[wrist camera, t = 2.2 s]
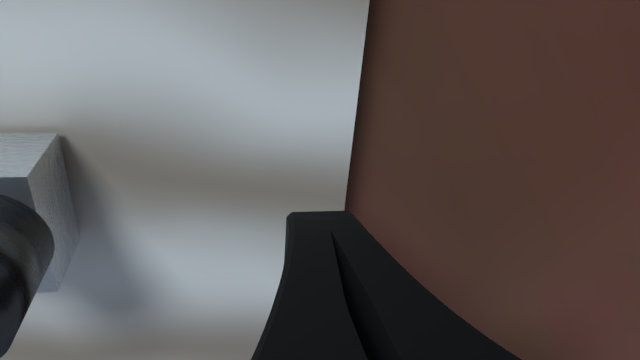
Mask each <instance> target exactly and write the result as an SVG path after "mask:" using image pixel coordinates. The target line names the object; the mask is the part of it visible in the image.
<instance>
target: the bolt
mask: <svg viewBox="0 0 640 360" xmlns="http://www.w3.org/2000/svg"><path fill="white" fill-rule="evenodd" d="M80 238H81V236H80V232H79V227H78V222H77V218H76V213H75V209H74V204H73V200H72V195H71V190H70V186H69V181H68V177H67V172H66V168H65V163H64V158H63V154H62V149H61V145H60V140H59V136H58V133H1V132H0V358H1V357H3V356H4V354H5V353H6V352H7V351H8V350H9V348H10V347H11V344H12V342H13V340H14V338H15V336H16V334H17V332H18V330H19V328H20V326H21V324H22V321H23V319H24V317H25V315H26V313H27V311H28V309H29V307H30V305H31V303H32V300H33V298H34V296H35V294H36V293H47V292H58V290H59V288H60V285H61V283H62V281H63V278H64V276H65V274H66V271H67V269H68V267H69V264H70V262H71V259H72V257H73V255H74V252H75V250H76V248H77V245H78V243H79V241H80Z"/></svg>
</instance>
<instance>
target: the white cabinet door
mask: <svg viewBox="0 0 640 360" xmlns="http://www.w3.org/2000/svg"><path fill="white" fill-rule="evenodd" d="M369 1H370V0H0V132H1V133H58V136H59V140H60V145H61V149H62V154H63V158H64V163H65V168H66V172H67V177H68V181H69V186H70V190H71V195H72V200H73V204H74V209H75V213H76V218H77V222H78V227H79V232H80V236H81V238H80V241H79V243H78V245H77V248H76V250H75V252H74V255H73V257H72V259H71V262H70V264H69V267H68V269H67V271H66V274H65V276H64V278H63V281H62V283H61V285H60V288H59V290H58V292H47V293H36V294H35V296H34V298H33V300H32V303H31V305H30V307H29V309H28V311H27V313H26V315H25V317H24V319H23V321H22V324H21V326H20V328H19V330H18V332H17V334H16V336H15V338H14V340H13V342H12V344H11V347H10V348H9V350H8V351H7V352H6V353H5V354H4V356H3V357H1V358H0V360H251V358H252V356H253V354H254V352H255V349H256V347H257V345H258V342H259V340H260V337H261V335H262V333H263V330H264V328H265V325H266V322H267V320H268V317H269V314H270V312H271V309H272V306H273V302H274V299H275V296H276V293H277V290H278V286H279V283H280V280H281V276H282V271H283V267H284V255H285V235H286V217H287V216H288V215H289V214H290V213H292V212H311V211H344V208H345V199H346V191H347V183H348V175H349V166H350V158H351V150H352V141H353V133H354V125H355V117H356V108H357V100H358V92H359V84H360V75H361V67H362V59H363V51H364V42H365V34H366V26H367V18H368V9H369Z"/></svg>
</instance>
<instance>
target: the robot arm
mask: <svg viewBox="0 0 640 360" xmlns="http://www.w3.org/2000/svg"><path fill="white" fill-rule="evenodd" d="M251 360H521V359H519V358H518V357H516V356H515V355H513V354H512V353H510V352H509V351H507V350H505V349H504V348H502V347H501V346H499V345H498V344H496V343H495V342H494V341H492V340H491V339H489V338H488V337H486V336H485V335H484V334H482V333H481V332H480V331H478V330H477V329H475V328H474V327H473V326H471V325H470V324H469V323H467V322H466V321H465V320H463V319H462V318H461V317H459V316H458V315H457V314H455V313H454V312H453V311H452V310H450V309H449V308H448V307H447V306H445V305H444V304H443V303H442V302H441V301H439V300H438V299H437V298H436V297H435V296H434V295H433V294H431V293H430V292H429V291H428V290H427V289H426V288H425V287H423V286H422V285H421V284H420V283H419V282H418V281H417V280H416V279H414V278H413V277H412V276H411V275H410V274H409V273H408V272H407V271H406V270H405V269H404V268H403V267H402V266H401V265H400V264H399V263H398V262H397V261H396V260H395V259H394V258H393V257H392V256H391V255H390V254H389V253H388V252H387V251H386V250H385V249H384V248H383V247H382V246H381V245H380V244H379V243H378V242H377V240H376V239H375V238H374V237H373V236H372V235H371V234H370V233H369V232H368V231H367V230H366V229H365V228H364V227H363V225H362V224H361V223H360V222H359V221H358V220H357V219H356V218H355V217H354V216H353V215H352V214H351V213H350V212H349V211H311V212H292V213H290V214H289V215H288V216H287V217H286V235H285V255H284V267H283V271H282V276H281V280H280V283H279V286H278V290H277V293H276V296H275V299H274V302H273V306H272V309H271V312H270V314H269V317H268V320H267V322H266V325H265V328H264V330H263V333H262V335H261V337H260V340H259V342H258V345H257V347H256V349H255V352H254V354H253V356H252V358H251Z"/></svg>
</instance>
